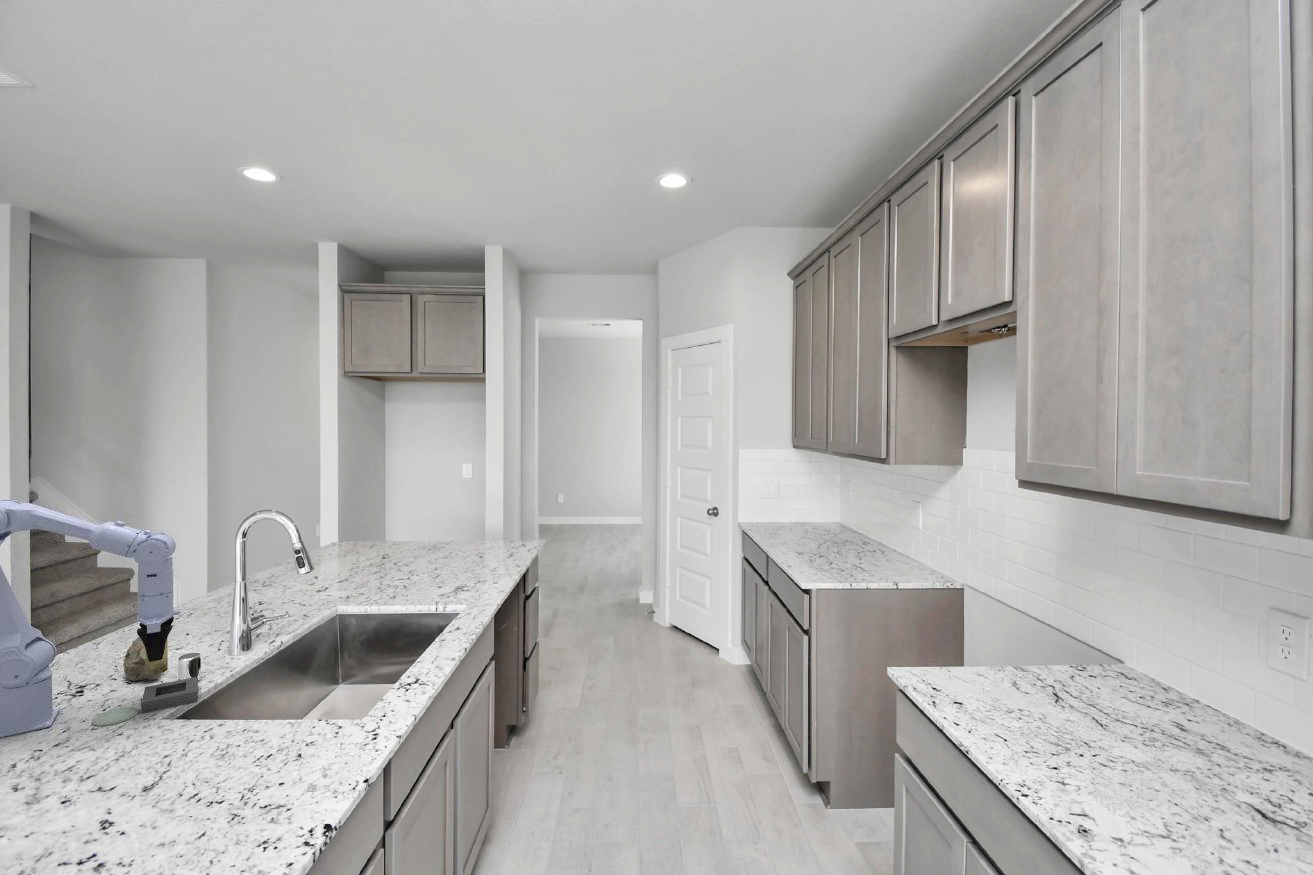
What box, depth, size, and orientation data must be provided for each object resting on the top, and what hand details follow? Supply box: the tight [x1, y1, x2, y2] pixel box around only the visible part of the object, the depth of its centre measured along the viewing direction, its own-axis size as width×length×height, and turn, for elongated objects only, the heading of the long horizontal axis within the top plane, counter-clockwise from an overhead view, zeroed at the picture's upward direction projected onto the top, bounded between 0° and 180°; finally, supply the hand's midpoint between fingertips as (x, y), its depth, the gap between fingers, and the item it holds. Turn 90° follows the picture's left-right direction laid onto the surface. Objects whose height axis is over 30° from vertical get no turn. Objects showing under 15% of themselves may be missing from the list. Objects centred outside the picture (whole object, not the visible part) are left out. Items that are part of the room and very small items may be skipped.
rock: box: [122, 636, 161, 682], centre depth 139 cm, size 12×7×10 cm, turn 40°
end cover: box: [145, 636, 169, 675], centre depth 125 cm, size 4×4×7 cm
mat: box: [91, 706, 140, 727], centre depth 119 cm, size 7×7×1 cm
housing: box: [140, 676, 199, 715], centre depth 127 cm, size 9×9×2 cm
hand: (156, 657), depth 125 cm, fingers closed on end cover, 4 cm apart
